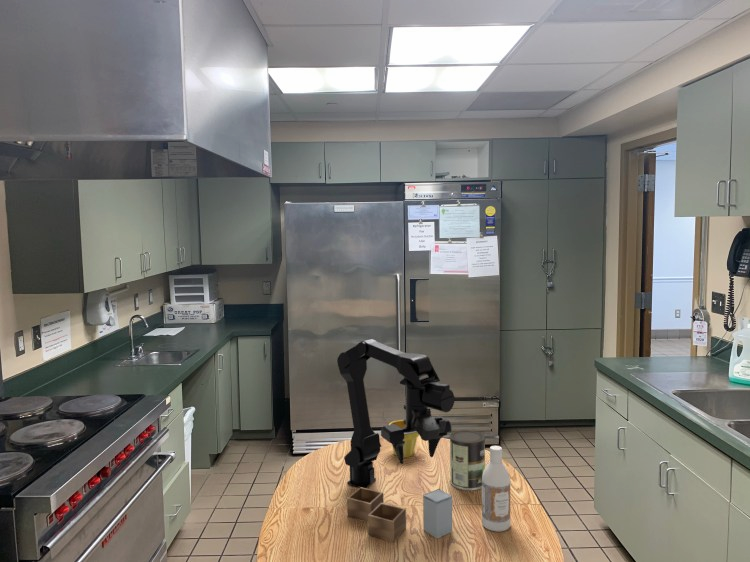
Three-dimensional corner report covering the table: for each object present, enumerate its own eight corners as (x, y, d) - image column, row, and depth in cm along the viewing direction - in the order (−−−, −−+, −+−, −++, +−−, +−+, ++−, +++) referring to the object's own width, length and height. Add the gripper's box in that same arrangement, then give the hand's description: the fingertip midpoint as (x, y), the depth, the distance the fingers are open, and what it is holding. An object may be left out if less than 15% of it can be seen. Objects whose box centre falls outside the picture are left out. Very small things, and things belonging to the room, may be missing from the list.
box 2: (368, 534, 130) (367, 515, 129) (381, 521, 136) (381, 502, 135) (393, 542, 126) (393, 522, 126) (406, 528, 132) (405, 508, 132)
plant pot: (425, 452, 179) (425, 424, 178) (405, 462, 171) (405, 432, 170) (402, 444, 186) (402, 417, 185) (382, 453, 178) (381, 425, 177)
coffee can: (485, 476, 160) (485, 430, 159) (485, 492, 150) (485, 443, 149) (450, 473, 162) (450, 428, 161) (448, 489, 152) (448, 441, 151)
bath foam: (489, 534, 129) (489, 454, 127) (477, 519, 136) (477, 443, 134) (515, 530, 130) (515, 451, 129) (502, 516, 137) (502, 441, 136)
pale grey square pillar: (423, 529, 131) (423, 494, 131) (439, 523, 134) (438, 488, 134) (436, 538, 127) (436, 502, 127) (452, 531, 130) (452, 496, 130)
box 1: (347, 516, 138) (347, 498, 138) (360, 504, 144) (360, 486, 144) (370, 523, 135) (370, 504, 134) (383, 510, 141) (383, 492, 141)
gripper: (400, 418, 129) (400, 479, 130) (463, 407, 137) (463, 465, 138) (380, 404, 139) (380, 462, 140) (440, 395, 147) (439, 449, 148)
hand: (416, 460), depth 141 cm, fingers open, 9 cm apart
